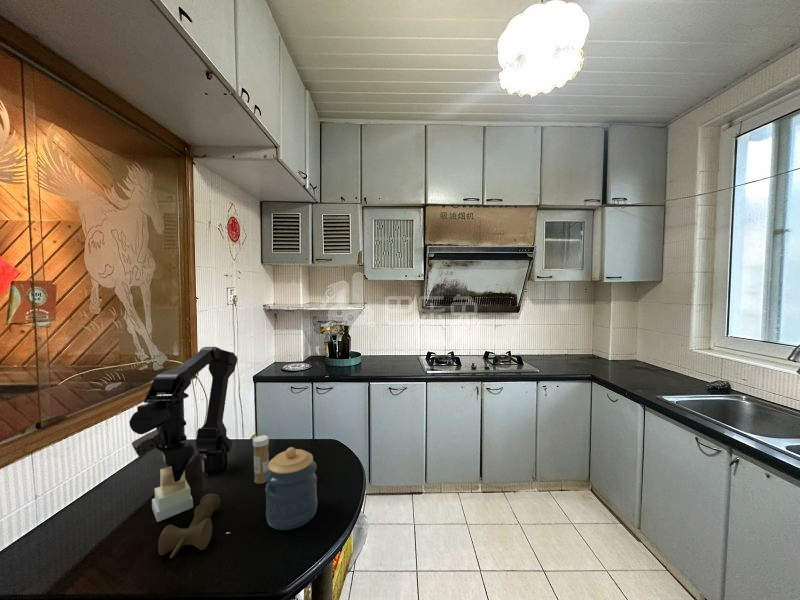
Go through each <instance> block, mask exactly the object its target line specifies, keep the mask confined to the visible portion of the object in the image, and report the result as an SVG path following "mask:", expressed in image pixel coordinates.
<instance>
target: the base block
mask: <svg viewBox="0 0 800 600" xmlns="http://www.w3.org/2000/svg"><path fill="white" fill-rule="evenodd" d="M192 508H194V499H193V496H192V495H191V499H189V500H186V501H183V502H181V503H178V504H176V505H173V506H171V507H168V508H165V509H163V510H160V511H159V509H158V506H157V504H156V501H155V497H154V498H152V499H151V509H152V512H153V514H154V518H155V520H156V522H157V523H158V522H161V521H163V520H166V519H169V518H171V517H173V516H177V515H178V514H181V513H183V512H186V511H188V510H190V509H192Z"/></svg>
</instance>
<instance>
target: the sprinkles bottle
mask: <svg viewBox="0 0 800 600" xmlns="http://www.w3.org/2000/svg"><path fill="white" fill-rule="evenodd" d="M269 441H270V440H269V436H268V435H264V434H263V435H258V436H256V437H254V438H253V439H252V446H253V471H254V480H253V481H254V484H257V485H260V484H261V485H262V484H264V483H265V484H266V483H267V481H266V479H265V473H266V471H267V469H268V464H269V462H270V454H269V444H270V442H269Z"/></svg>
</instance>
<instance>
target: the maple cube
mask: <svg viewBox="0 0 800 600" xmlns="http://www.w3.org/2000/svg"><path fill="white" fill-rule="evenodd" d="M159 473H160V474H159V475H160V476H159V477H160V479H159V481H160V486H161V490H162V494H163V495H165V494H168V493H171V492H173V491H176V490H179V489H182V488H185V480H186V469H185V470H184V472H183V474H182V477H181V479H180V481H177V482H175V481H174V477H173V474H172V470H171V466H169V467H167V466H166V467H163V468H160V470H159Z"/></svg>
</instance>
